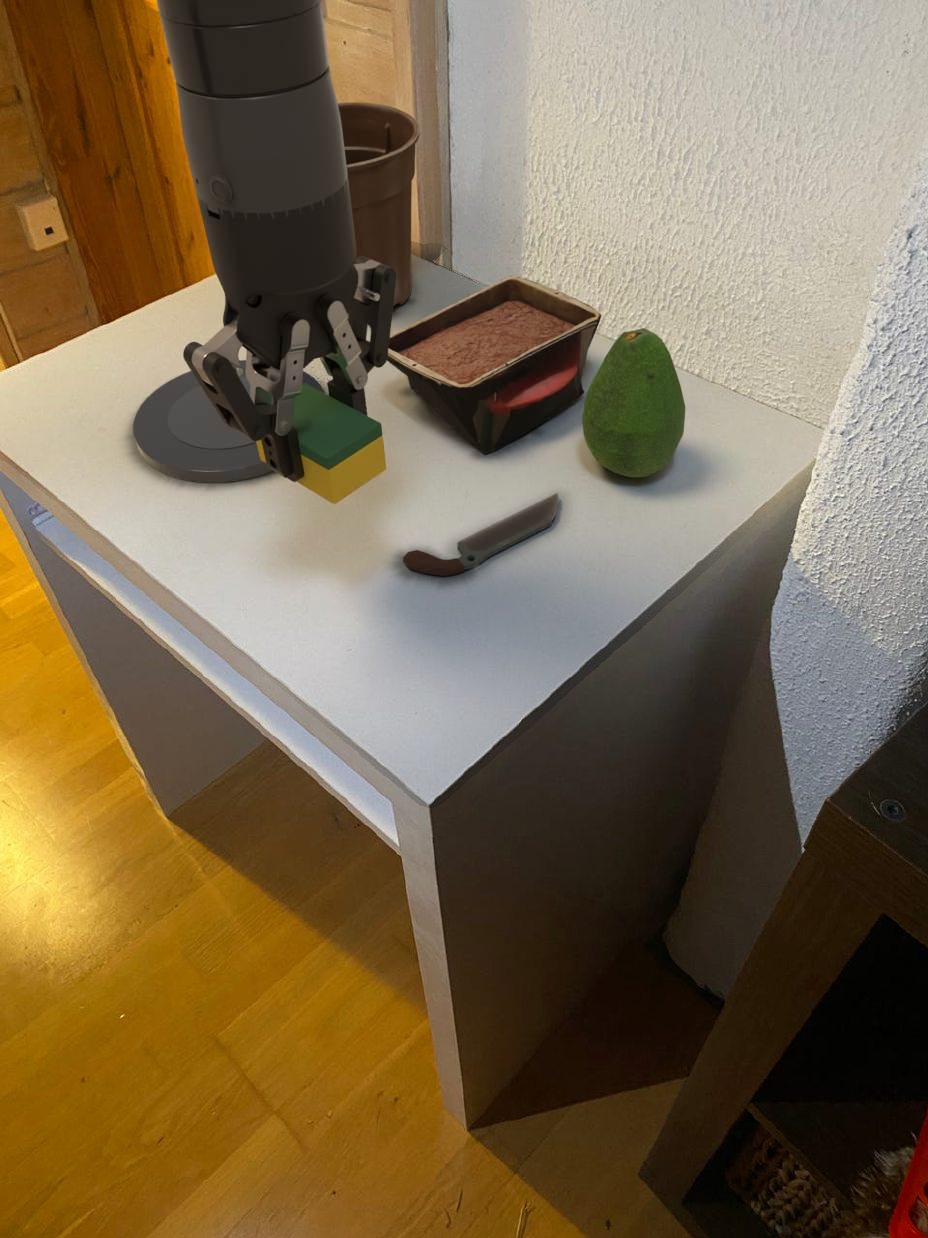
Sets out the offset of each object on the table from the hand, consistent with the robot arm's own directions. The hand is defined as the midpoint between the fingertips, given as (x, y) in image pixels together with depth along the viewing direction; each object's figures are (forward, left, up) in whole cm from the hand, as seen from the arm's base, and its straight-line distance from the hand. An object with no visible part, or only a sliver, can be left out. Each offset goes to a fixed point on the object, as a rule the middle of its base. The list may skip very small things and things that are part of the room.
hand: (320, 454), depth 58 cm
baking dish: (+26, +7, -13) cm, 30 cm away
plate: (+9, +23, -13) cm, 28 cm away
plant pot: (+32, +31, -13) cm, 46 cm away
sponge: (0, 0, -1) cm, 1 cm away
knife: (+11, -5, -13) cm, 18 cm away
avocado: (+25, -8, -13) cm, 29 cm away
